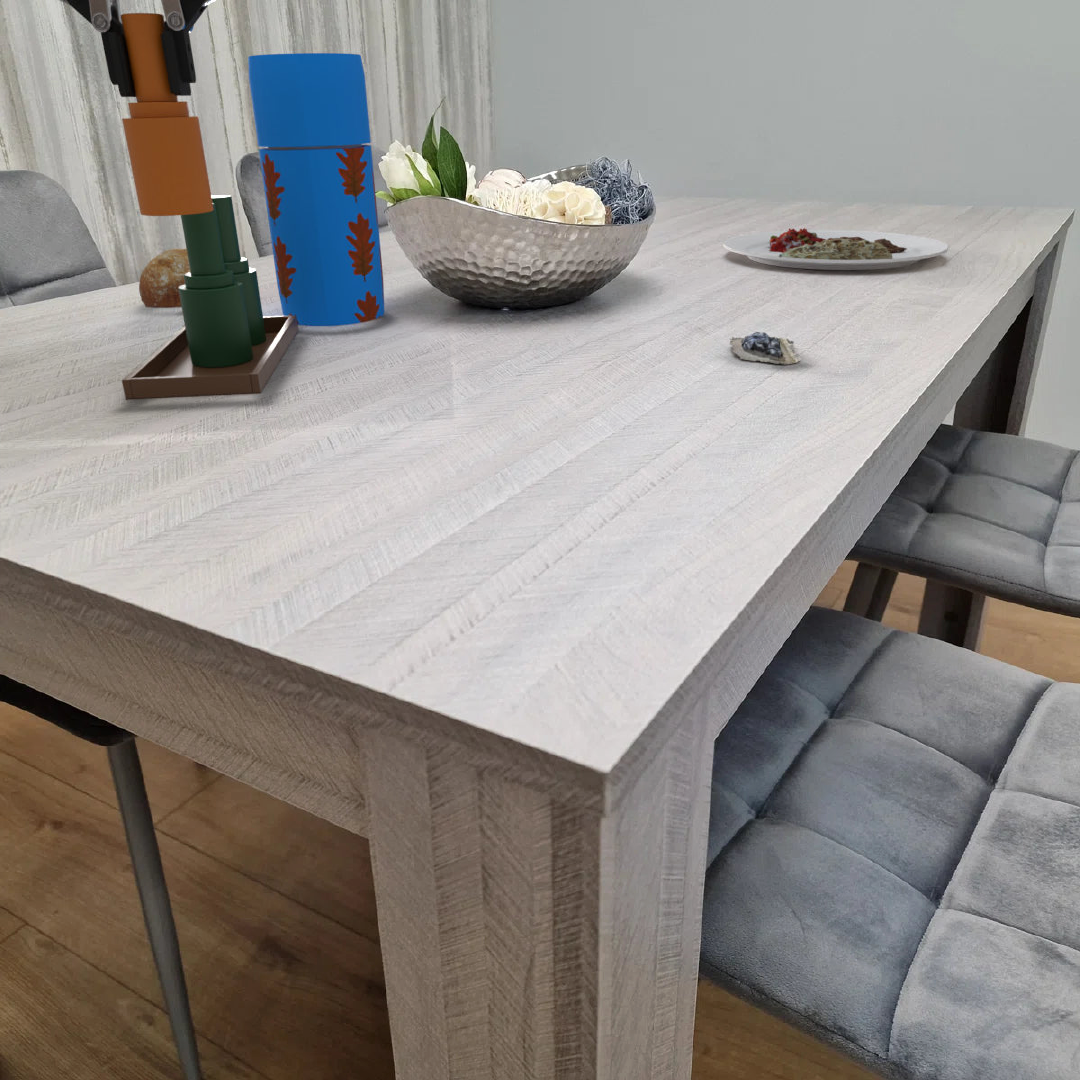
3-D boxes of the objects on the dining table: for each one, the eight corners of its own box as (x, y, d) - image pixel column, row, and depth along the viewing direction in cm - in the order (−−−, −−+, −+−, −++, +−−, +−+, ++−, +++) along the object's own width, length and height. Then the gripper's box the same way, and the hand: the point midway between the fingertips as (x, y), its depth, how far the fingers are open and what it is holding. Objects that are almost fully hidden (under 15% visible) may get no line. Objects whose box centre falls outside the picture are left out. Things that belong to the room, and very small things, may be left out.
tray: (127, 406, 72) (121, 380, 71) (194, 340, 92) (190, 319, 91) (261, 400, 73) (257, 374, 72) (299, 336, 93) (296, 315, 92)
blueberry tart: (778, 340, 87) (780, 320, 87) (826, 361, 80) (829, 339, 80) (713, 347, 86) (714, 326, 85) (756, 368, 79) (758, 346, 78)
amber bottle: (131, 217, 68) (90, 12, 62) (151, 209, 73) (115, 18, 67) (205, 214, 68) (170, 10, 63) (220, 207, 73) (189, 17, 67)
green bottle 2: (203, 349, 86) (177, 200, 81) (215, 337, 91) (191, 194, 85) (261, 347, 87) (239, 198, 81) (270, 334, 91) (250, 193, 86)
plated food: (924, 281, 113) (928, 252, 111) (690, 266, 127) (692, 240, 125) (961, 248, 136) (965, 224, 135) (760, 238, 150) (762, 216, 149)
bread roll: (174, 326, 115) (132, 267, 112) (246, 286, 115) (207, 225, 111) (159, 344, 106) (114, 281, 103) (237, 301, 106) (194, 236, 102)
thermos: (263, 321, 100) (225, 58, 89) (347, 306, 106) (321, 59, 96) (321, 336, 93) (286, 52, 82) (407, 318, 99) (385, 54, 89)
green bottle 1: (185, 369, 80) (155, 208, 74) (199, 354, 85) (172, 202, 79) (247, 366, 80) (222, 206, 75) (258, 351, 85) (235, 200, 79)
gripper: (-64, -246, 55) (17, 99, 63) (218, -245, 57) (263, 92, 64) (-10, -207, 62) (58, 99, 70) (241, -208, 63) (280, 93, 71)
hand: (156, 93), depth 67 cm, fingers closed on amber bottle, 2 cm apart
